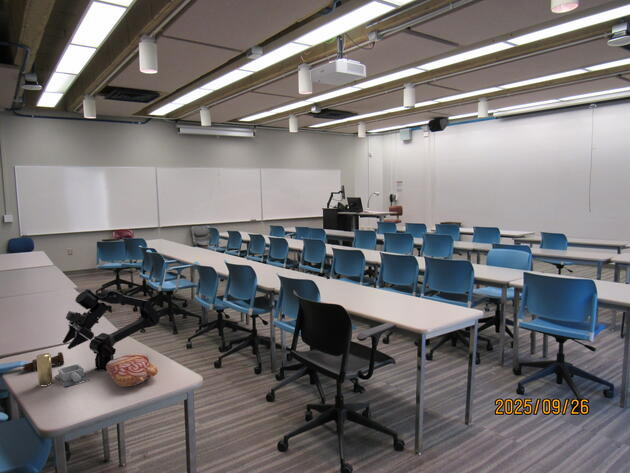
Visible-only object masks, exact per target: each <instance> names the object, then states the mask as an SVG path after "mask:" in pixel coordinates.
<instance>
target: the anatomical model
mask: <svg viewBox="0 0 630 473" xmlns="http://www.w3.org/2000/svg"><path fill="white" fill-rule="evenodd" d="M106 369H107V370H106V371H107V374H108V375H109V377H110V378H111V379H112V380H113V382H114V383H115V384H116V385H117V386H120V387H130V386H131V387H132V386H135V385H138V384H142V383H144V382H145V381H146V380H148V379H149V378H152V377H154V376H156V375H157V374H158V372H159V370H158V368H157V366H156V365H155V364H153V363H152V362H150V361H149V358H148V356H146V355H144V354H140V353H132V354H125V355H122V356H120V357H116V358H114V359H113V360H111V361H109V362H108V363H107V365H106Z"/></svg>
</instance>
